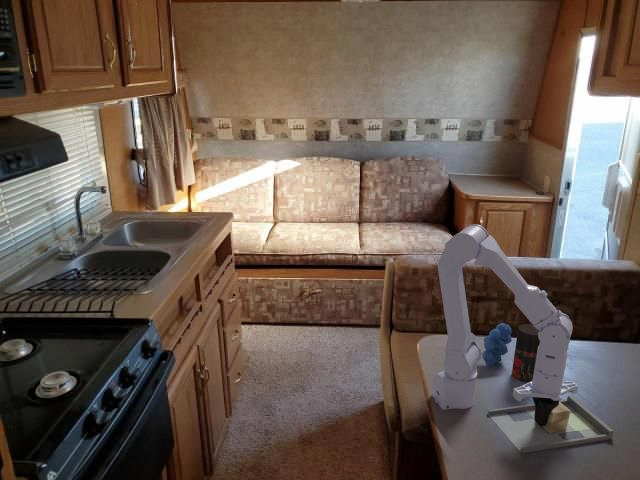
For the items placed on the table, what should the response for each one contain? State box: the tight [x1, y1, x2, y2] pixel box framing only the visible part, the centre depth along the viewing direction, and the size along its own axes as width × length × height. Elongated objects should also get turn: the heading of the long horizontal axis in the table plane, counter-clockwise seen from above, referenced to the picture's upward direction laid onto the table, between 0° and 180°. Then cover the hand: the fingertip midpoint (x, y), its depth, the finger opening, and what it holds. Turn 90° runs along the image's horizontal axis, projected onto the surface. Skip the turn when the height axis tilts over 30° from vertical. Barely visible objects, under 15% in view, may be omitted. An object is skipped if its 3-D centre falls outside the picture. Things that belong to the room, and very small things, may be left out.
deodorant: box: [511, 323, 540, 383], centre depth 126 cm, size 6×6×15 cm
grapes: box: [481, 322, 513, 367], centre depth 135 cm, size 12×7×12 cm, turn 128°
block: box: [542, 402, 570, 433], centre depth 108 cm, size 4×4×5 cm
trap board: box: [487, 394, 615, 454], centre depth 108 cm, size 22×13×4 cm, turn 103°
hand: (540, 423), depth 108 cm, fingers closed, pressing on block
